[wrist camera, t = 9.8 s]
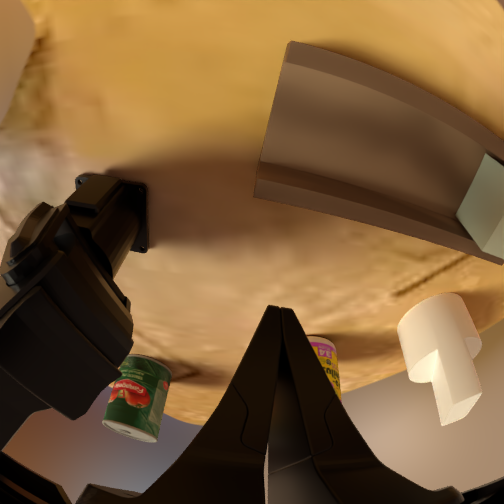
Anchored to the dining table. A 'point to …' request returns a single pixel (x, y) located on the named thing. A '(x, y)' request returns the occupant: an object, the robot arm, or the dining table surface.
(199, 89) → the dining table surface
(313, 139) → the chute
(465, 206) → the block
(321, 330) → the dining table surface
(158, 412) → the canned tomato
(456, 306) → the cylinder with rectangular tab
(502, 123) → the dining table surface
